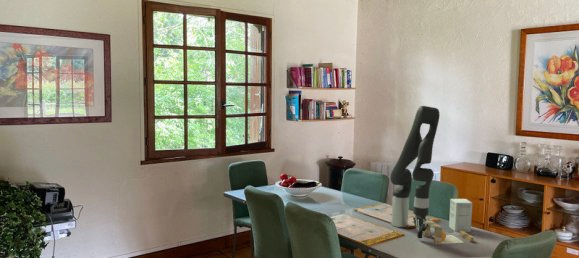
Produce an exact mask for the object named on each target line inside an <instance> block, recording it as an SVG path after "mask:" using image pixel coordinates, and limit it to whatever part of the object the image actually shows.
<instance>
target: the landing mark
mask: <svg viewBox="0 0 579 258" xmlns="http://www.w3.org/2000/svg"><path fill="white" fill-rule="evenodd" d="M431 237H432V238H434V235H431ZM464 243H465V242H463V241H462V240H461V239H460V238H458V237H456V236H454V235H453V234H446V238H445V239H444V240H443V241H441V245H442V244H443V245H444V244H445V245H446V244H447V245H448V244H450V245H451V244H464Z"/></svg>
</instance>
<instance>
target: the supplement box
mask: <svg viewBox="0 0 579 258" xmlns="http://www.w3.org/2000/svg"><path fill="white" fill-rule="evenodd" d="M449 201H450V203H449V218H448V219H449V222H448V227H449V229H451V230H453V232H457V233H459V232H460V231H464V232H466V233H467V232H468V233H470V232H471V230H472V216H473V215H472V214H473V202H472V201H470V200H469V199H467V198H450V200H449Z"/></svg>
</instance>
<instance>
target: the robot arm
mask: <svg viewBox="0 0 579 258" xmlns="http://www.w3.org/2000/svg"><path fill="white" fill-rule="evenodd" d="M440 116H441V115H440V110H439V108H437V107H432V106H427V105H420V106H418V108H417V110H416V113H415V116H414V119H413V123H412V125H411V129H410V130H409V133H408V136H407V138H406V141H405V143H404V146H403V147H402V150H401V152H400V154H399V157H398V159H397V162H396V163H395V165H394V166H393V168H392V171H391V174H390V182H391V184H392V185H394V186H398V187H397V188H395V189H394V190H393V191H392V206H391V207H392V208H391V225H392V226H394V227H396V228H406V226H407V225H409V204H410V194H411V190H412V182H413V181H412V180H414V181H416V182H417V181H418V182H423V183H424V184H419V185H416V186H415V188H414V199H413V215H415V217H414V216H413V218H412V219H413V223H414V227H415V229H416V231H417V233H416V237H417V238H418V239H422V238H423V231H425V230H426V228H427V226H428V224H426V219H427V218H426V217H427V216H429V209H430V208H429V207H430V188H431V184H432V181H433V179H434V177H435V175H434V171H433V169H431V168H426V167H422V166H423V165H428V164H431V162H432V158H433V147H434V142H435V138H436V134H437V131H438V126H439V123H440V122H439V121H440ZM423 124H425V125H428V126H429V128H428V132H427V133H426V135H425V136H424V137H423V138H422V134H421V127H422V125H423ZM416 159H417V160H416ZM415 160H416V161H415ZM414 161H415V166H414V168H413V171H411V170H410V169H409V168H407V167H408V166H409V165H410V164H412V163H413V162H414ZM407 227H408V226H407Z"/></svg>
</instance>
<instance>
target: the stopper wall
mask: <svg viewBox="0 0 579 258" xmlns="http://www.w3.org/2000/svg"><path fill="white" fill-rule="evenodd" d="M458 233H459V236H460V237H461V238H463V239H464V240H466V241H468V242H469V243H475V237H474V236H473V235H471V234H469V233H467V232H464V231H460V232H458Z"/></svg>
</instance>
